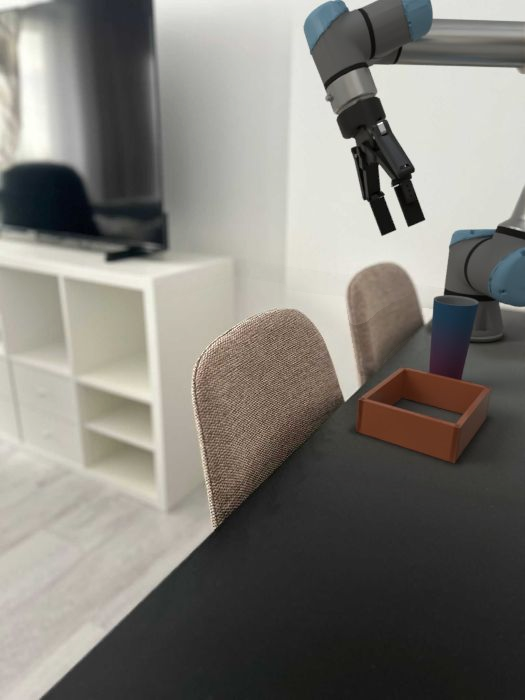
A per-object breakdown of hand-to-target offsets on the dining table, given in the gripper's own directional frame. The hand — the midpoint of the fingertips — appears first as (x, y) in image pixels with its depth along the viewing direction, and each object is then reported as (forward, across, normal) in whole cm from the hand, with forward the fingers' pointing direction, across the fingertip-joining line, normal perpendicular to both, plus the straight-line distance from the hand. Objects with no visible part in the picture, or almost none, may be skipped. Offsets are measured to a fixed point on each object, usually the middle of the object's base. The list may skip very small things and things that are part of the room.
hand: (401, 229), depth 87 cm
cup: (+27, +3, -4) cm, 28 cm away
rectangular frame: (+26, +16, -13) cm, 34 cm away
